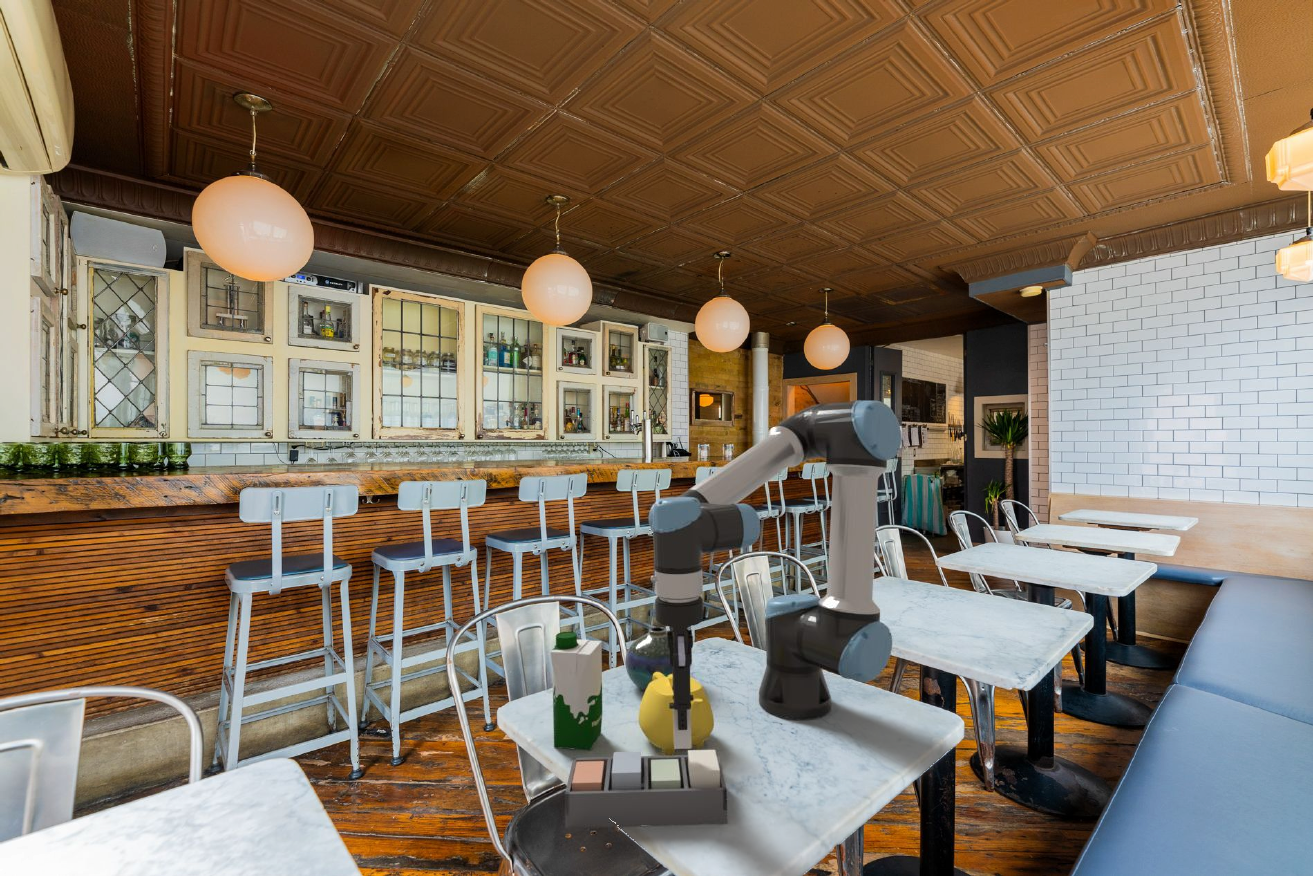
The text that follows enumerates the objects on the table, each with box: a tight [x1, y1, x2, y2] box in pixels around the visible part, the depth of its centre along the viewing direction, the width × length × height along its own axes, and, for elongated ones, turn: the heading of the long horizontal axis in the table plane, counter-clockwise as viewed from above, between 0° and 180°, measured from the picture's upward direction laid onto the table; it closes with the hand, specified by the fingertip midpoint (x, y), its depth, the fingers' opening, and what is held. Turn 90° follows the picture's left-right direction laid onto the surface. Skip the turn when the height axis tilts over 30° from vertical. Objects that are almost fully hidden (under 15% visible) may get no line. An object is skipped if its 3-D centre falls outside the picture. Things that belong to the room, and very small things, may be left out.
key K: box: [612, 751, 642, 791], centre depth 92 cm, size 4×6×3 cm
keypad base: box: [564, 753, 729, 829], centre depth 92 cm, size 24×10×5 cm, turn 91°
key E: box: [572, 761, 604, 792], centre depth 92 cm, size 4×6×3 cm
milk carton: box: [549, 631, 603, 751], centre depth 113 cm, size 9×9×20 cm
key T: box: [651, 759, 681, 789], centre depth 92 cm, size 4×6×3 cm
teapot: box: [638, 672, 715, 756], centre depth 111 cm, size 13×20×12 cm
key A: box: [687, 749, 720, 788], centre depth 92 cm, size 4×6×3 cm
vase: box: [624, 626, 692, 691], centre depth 137 cm, size 15×15×13 cm
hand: (682, 746), depth 93 cm, fingers closed
